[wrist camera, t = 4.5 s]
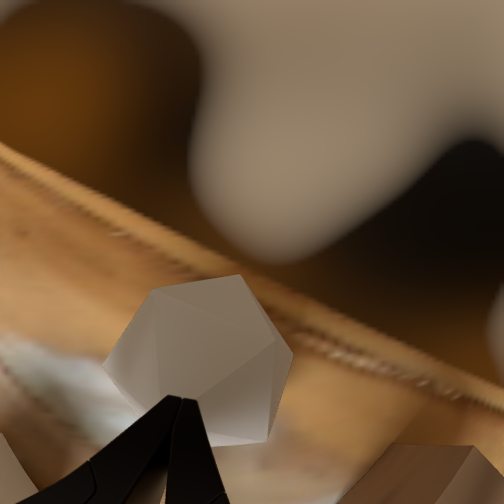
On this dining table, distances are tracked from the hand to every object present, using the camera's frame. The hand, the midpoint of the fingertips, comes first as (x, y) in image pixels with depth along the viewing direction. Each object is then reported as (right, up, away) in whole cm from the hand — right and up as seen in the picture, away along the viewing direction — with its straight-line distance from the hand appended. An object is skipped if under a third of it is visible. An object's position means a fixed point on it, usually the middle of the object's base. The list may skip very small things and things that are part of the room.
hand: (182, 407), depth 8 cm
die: (-1, -3, +10) cm, 10 cm away
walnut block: (+11, -12, +6) cm, 17 cm away
